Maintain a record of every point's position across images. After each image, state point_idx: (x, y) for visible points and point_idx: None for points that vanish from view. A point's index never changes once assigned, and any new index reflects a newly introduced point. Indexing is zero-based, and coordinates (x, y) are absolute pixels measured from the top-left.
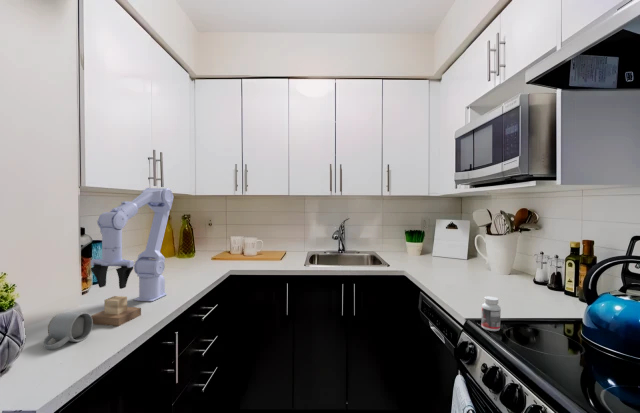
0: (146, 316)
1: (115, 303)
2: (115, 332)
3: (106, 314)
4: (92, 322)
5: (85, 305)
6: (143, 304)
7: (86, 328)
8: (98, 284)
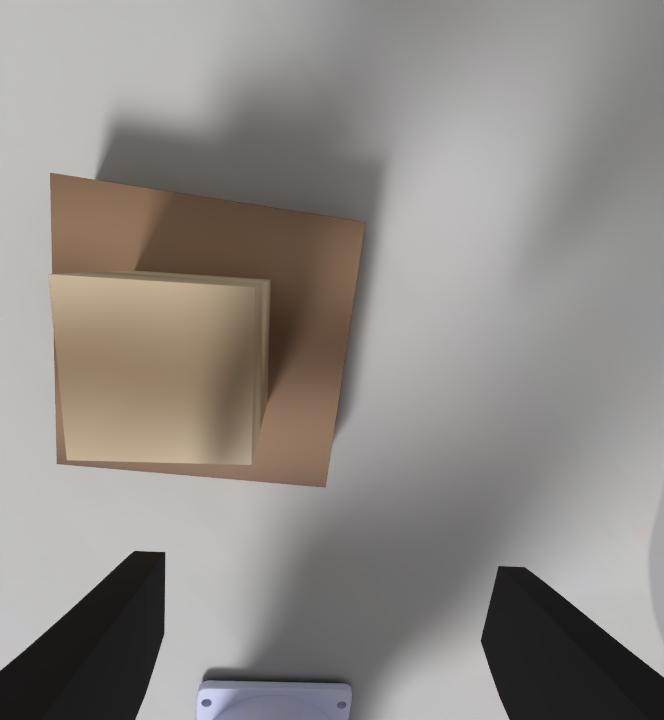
0: (28, 413)
1: (104, 276)
2: (12, 44)
3: (245, 269)
4: None
5: (617, 563)
6: (232, 629)
7: None
8: (562, 597)
